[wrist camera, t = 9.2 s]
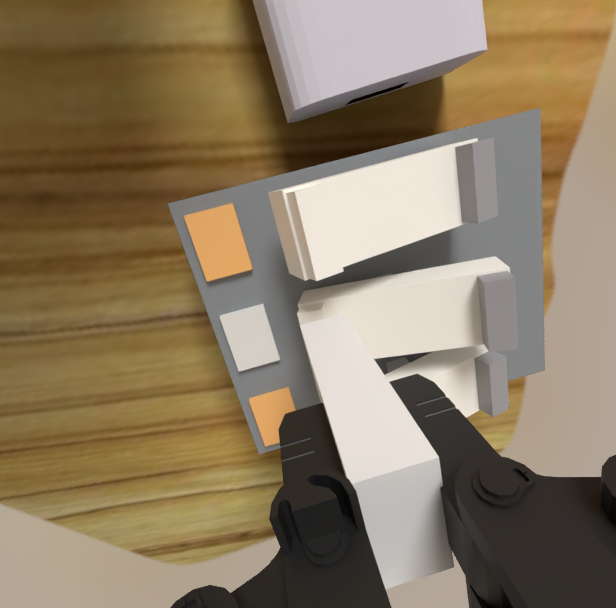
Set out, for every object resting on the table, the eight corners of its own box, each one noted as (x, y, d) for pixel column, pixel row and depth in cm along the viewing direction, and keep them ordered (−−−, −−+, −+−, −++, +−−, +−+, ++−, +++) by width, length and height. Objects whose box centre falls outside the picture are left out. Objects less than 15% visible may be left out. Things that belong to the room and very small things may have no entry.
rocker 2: (318, 348, 17) (311, 377, 15) (303, 290, 16) (293, 311, 14) (499, 323, 15) (521, 351, 13) (495, 256, 14) (518, 274, 12)
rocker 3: (338, 456, 17) (365, 493, 14) (324, 403, 16) (351, 434, 13) (470, 386, 19) (510, 408, 17) (465, 336, 18) (507, 353, 16)
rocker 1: (289, 273, 14) (314, 285, 11) (267, 192, 13) (290, 188, 10) (453, 217, 16) (500, 217, 14) (446, 145, 15) (495, 134, 13)
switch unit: (254, 393, 24) (253, 467, 18) (187, 199, 20) (154, 206, 14) (479, 328, 25) (556, 377, 19) (463, 128, 21) (555, 103, 14)
